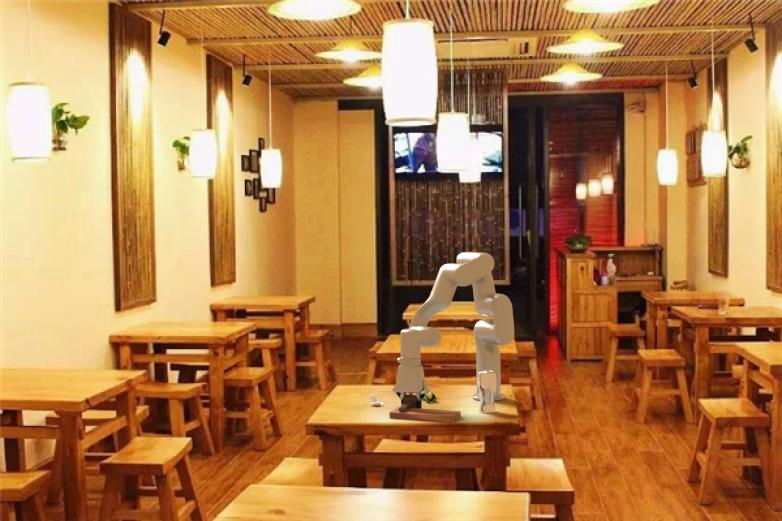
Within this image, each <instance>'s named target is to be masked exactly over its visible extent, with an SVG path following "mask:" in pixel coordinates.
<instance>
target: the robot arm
mask: <svg viewBox="0 0 782 521" xmlns="http://www.w3.org/2000/svg"><path fill="white" fill-rule="evenodd" d="M455 262H456V263H453V262H452V263H451V262H450V263H445V264H443V265H442V266H440V268H439V271H438V272H437V273H438V274H437V276H436V278H435V281H434V283H433V286H432V290H431V291H430V294H429V297H428V298H427V300H426V301H425V302H424V303H422V304H421V306H420V307H419V308H418V309H417V310H416V311H415V313H414V315H413V316H412V318H411V321H410V324H409V327H408V328H404V329H401V331H400V333H399V334H400V335H399V337H400V338H399V341H400V344H399V345H400V346H399V349H400V357H398V358H397V359H396V361H397V363H399V365H398V367H397V373H396V384H395V385H394V387H393V388H392V391H393V393H394V394H396V395H397V397H398V398H399V400H400V406H401V405H402V404H404V401H403V396H404V395H406V394H409V393H413V394H415V395H416V396H417V401H416V408H421V409H423V408H422V407H423V404H422V403H423V400H424V399H423V398H424V397H425V396H426V395H427V394H428V393H430V390H431V389H430V388H429V387H428V386H427V385H426V378H425V370H424V367H423V365H422V364H421V361H422V360H421V359H422V357H421V356H422V354H421V353H422V352H421V348H435V347H437V346H438V345H440V343H441V341H442V334H441V332H440V331H439V330H438V329H437V328H435V327H431V326H427V325H428V324H429V321H430V320H431V319H432V318H433V317H435V316H436V315H437V314H439V313H441V312H443V311H445V310H446V309H448V308H449V307H450V306H451V304H452V301H453V297H454V295H455V293H456V290H457V289H458V288H457V287H458V286H459V287H467V286H470V285H471V286H472V290H473V291H472V292H473V302H474V310H475V312H476V313H477V315H479V316H481V317H488V318H483V319H480V320H478V321H476V323H475V325H474V327H473V337H474V344H475V348H476V349H475V351H476V352H475V354H476V355H475V356H476V359H475V360H476V361H475V362H476V393H474V394H472V399H473V400H476V401H480V397H479V392H478V371H483V370H491V371H495V372H496V392H495V399H494V402H495V401H502V400H504V399H505V394H503V393H502V392H501V391H502V390H501V380H502V379H501V376H502V375H501V350H500V347H499V346H508V345H510V344H511V343H512V341H513V339H514V337H515V324H514V323H515V321H514V314H513V311H514V310H513V304H512V302H511V300H510V298H509V297H508V296H507V295H505V294H503V293H496V288H495V287H496V286H495V282H494V278H493V275H492V271H493V269H494V267H495V260H494V258H493V256H492V255H491V254H489V253H487V252H477V251H475V252H474V251H463V252H460V253H459V254H458V255H456V261H455ZM489 318H492V319H489ZM428 388H429V389H430V390H429V389H428ZM424 390H425V392H424V393H423V394H422V393H421V392H422V391H424Z"/></svg>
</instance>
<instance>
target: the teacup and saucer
mask: <svg viewBox="0 0 782 521" xmlns="http://www.w3.org/2000/svg"><path fill="white" fill-rule="evenodd" d="M368 400H369V402H370V403H369V404H370V406H371V407H379V406H383V405H384V402H382V401H381V402H380V401H378V394H377V393H371V394H370V393H369V394H368ZM380 403H381V405H380Z"/></svg>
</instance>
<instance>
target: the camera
mask: <svg viewBox="0 0 782 521" xmlns="http://www.w3.org/2000/svg"><path fill="white" fill-rule="evenodd" d="M403 401H404V404H402V405H401V404H400V406H399V412H405V411H406V410H408V409H409V408H416V401H417V396H416V394H414V393H406V395H404V396H403Z"/></svg>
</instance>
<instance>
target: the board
mask: <svg viewBox="0 0 782 521" xmlns="http://www.w3.org/2000/svg"><path fill="white" fill-rule="evenodd" d="M399 407H400V406H399ZM399 407H396V408H394V409H393V410H391V411H389V419H398V420H399V419H400V420H411V419H412V420H413V421H414V420H415V421H426V422H427V421H429V422H441V423H443V422H444V423H454V422H455V421H456V420H458V419H459V418H460V417H461V414H462V413H461V410H448V409H437V408H436V409H433V408H409V409H408V410H406V411H405V412H399Z"/></svg>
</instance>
